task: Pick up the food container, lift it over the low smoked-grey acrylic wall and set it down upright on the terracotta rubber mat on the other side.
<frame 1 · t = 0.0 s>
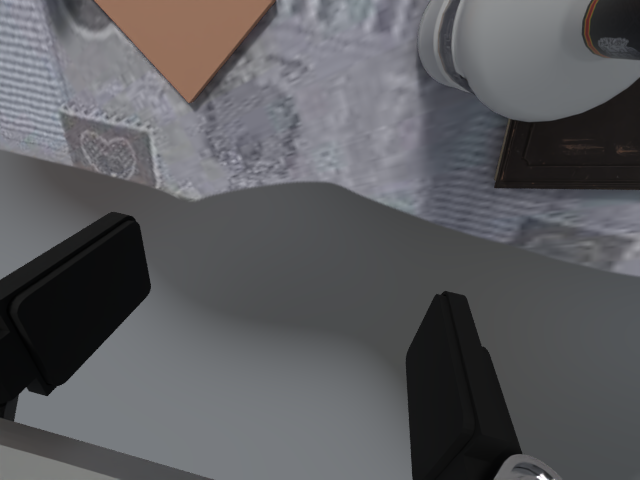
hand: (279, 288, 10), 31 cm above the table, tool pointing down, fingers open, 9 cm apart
vodka: (465, 33, 31), on the table
hardcover book: (629, 106, 32), on the table
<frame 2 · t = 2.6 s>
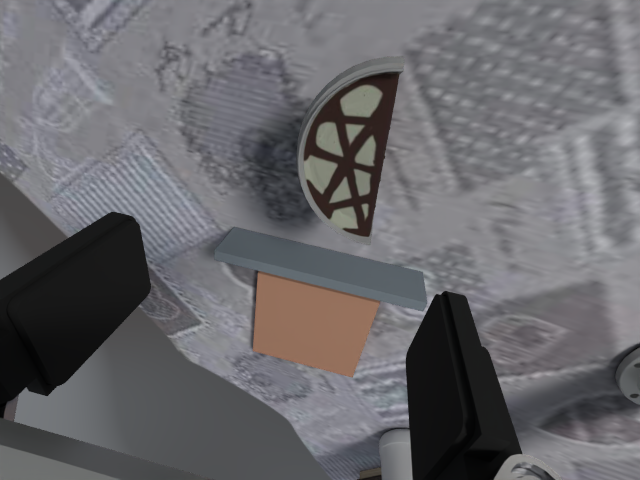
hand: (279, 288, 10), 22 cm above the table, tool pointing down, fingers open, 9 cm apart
vodka: (406, 440, 53), on the table
food container: (351, 128, 29), on the table
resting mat: (310, 324, 43), on the table
acrylic wall: (325, 253, 36), on the table
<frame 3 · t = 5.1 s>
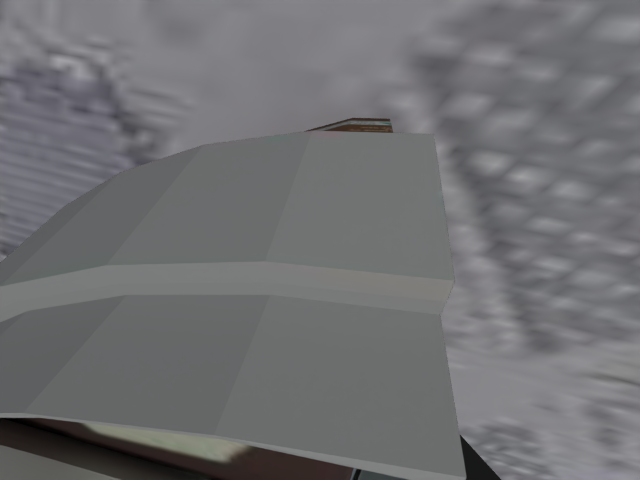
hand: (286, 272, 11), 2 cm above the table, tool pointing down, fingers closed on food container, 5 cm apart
food container: (292, 228, 13), on the table, touching gripper
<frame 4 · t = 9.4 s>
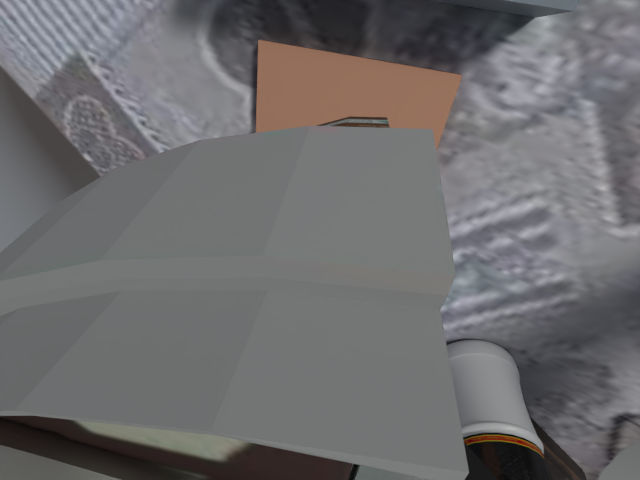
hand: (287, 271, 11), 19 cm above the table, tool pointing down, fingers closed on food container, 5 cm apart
vodka: (469, 360, 39), on the table
food container: (289, 227, 13), point 17 cm above the table, touching gripper
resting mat: (341, 154, 28), on the table
hardcover book: (485, 437, 47), on the table
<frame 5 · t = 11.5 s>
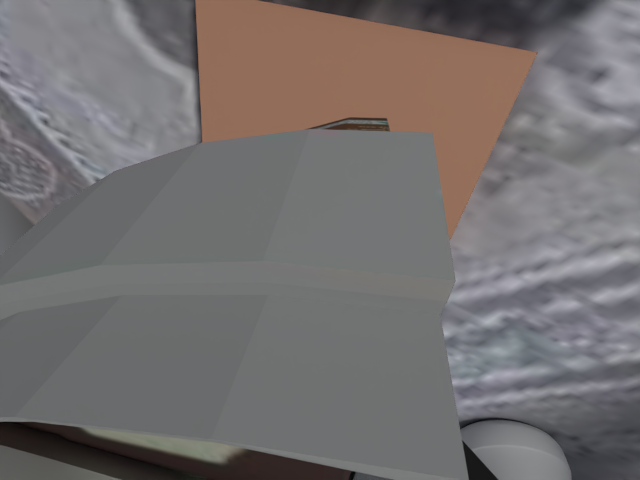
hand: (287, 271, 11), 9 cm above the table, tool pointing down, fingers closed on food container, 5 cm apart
vodka: (499, 441, 29), on the table
food container: (288, 228, 13), point 7 cm above the table, touching gripper
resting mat: (332, 174, 18), on the table
when the fingers open (4 cm above the table, at t = 13.3 s): food container moves 1 cm, resting on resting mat.
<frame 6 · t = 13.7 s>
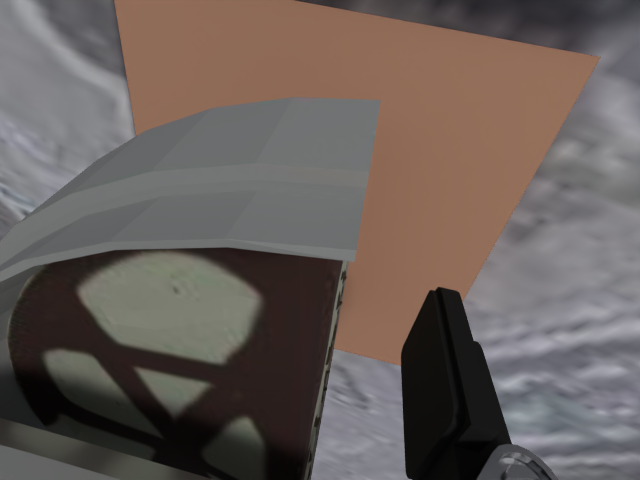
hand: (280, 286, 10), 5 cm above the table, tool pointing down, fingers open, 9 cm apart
food container: (285, 214, 14), point 1 cm above the table, touching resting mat
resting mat: (312, 212, 14), on the table
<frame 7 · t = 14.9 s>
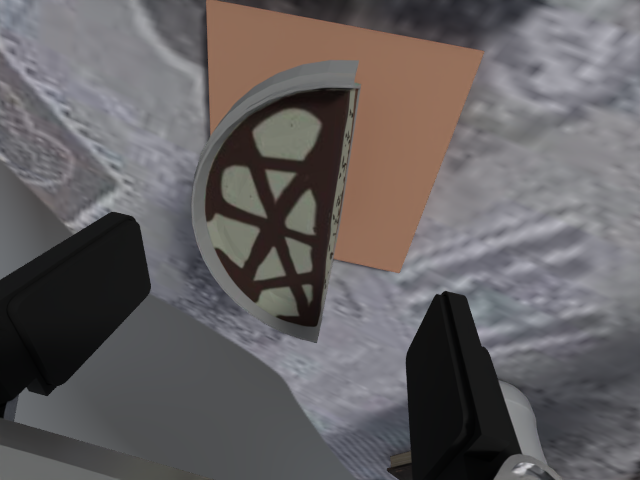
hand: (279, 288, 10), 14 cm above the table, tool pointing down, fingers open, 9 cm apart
vodka: (475, 398, 33), on the table
food container: (303, 155, 21), point 1 cm above the table, touching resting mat
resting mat: (322, 156, 22), on the table
hardcover book: (489, 477, 42), on the table
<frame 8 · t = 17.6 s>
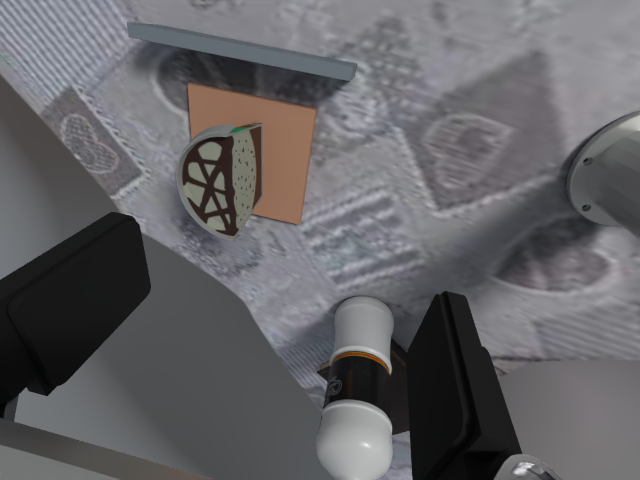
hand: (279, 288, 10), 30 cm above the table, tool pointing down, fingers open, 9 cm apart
vodka: (364, 313, 51), on the table
food container: (240, 157, 40), point 1 cm above the table, touching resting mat
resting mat: (251, 158, 40), on the table
acrylic wall: (255, 50, 34), on the table
hardcover book: (390, 381, 60), on the table
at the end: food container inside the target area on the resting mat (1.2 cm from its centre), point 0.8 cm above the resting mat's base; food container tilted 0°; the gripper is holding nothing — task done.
